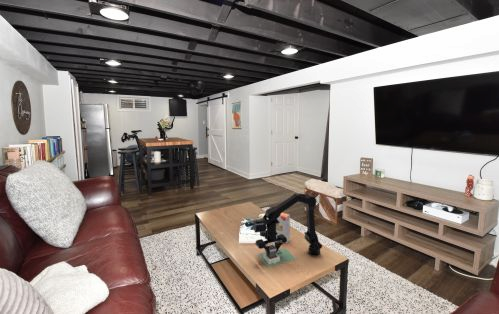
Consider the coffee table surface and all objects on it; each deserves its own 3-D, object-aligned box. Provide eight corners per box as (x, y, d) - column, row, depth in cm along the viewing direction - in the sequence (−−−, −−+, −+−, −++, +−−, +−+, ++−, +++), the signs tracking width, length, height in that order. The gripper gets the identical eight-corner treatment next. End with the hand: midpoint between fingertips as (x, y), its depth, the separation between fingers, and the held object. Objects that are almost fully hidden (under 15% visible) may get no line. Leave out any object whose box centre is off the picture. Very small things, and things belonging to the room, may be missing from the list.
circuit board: (284, 249, 157) (284, 244, 156) (296, 260, 144) (296, 255, 143) (257, 256, 149) (257, 251, 149) (267, 269, 137) (267, 263, 136)
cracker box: (268, 239, 170) (268, 212, 166) (273, 236, 174) (273, 209, 171) (285, 246, 161) (285, 217, 158) (289, 242, 166) (290, 214, 162)
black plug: (273, 256, 147) (273, 244, 145) (276, 260, 143) (276, 247, 142) (267, 258, 145) (267, 246, 144) (270, 261, 141) (270, 249, 140)
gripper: (278, 221, 152) (278, 244, 154) (251, 227, 145) (252, 251, 147) (287, 229, 142) (287, 253, 144) (259, 235, 135) (259, 260, 137)
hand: (271, 254), depth 144 cm, fingers open, 5 cm apart
